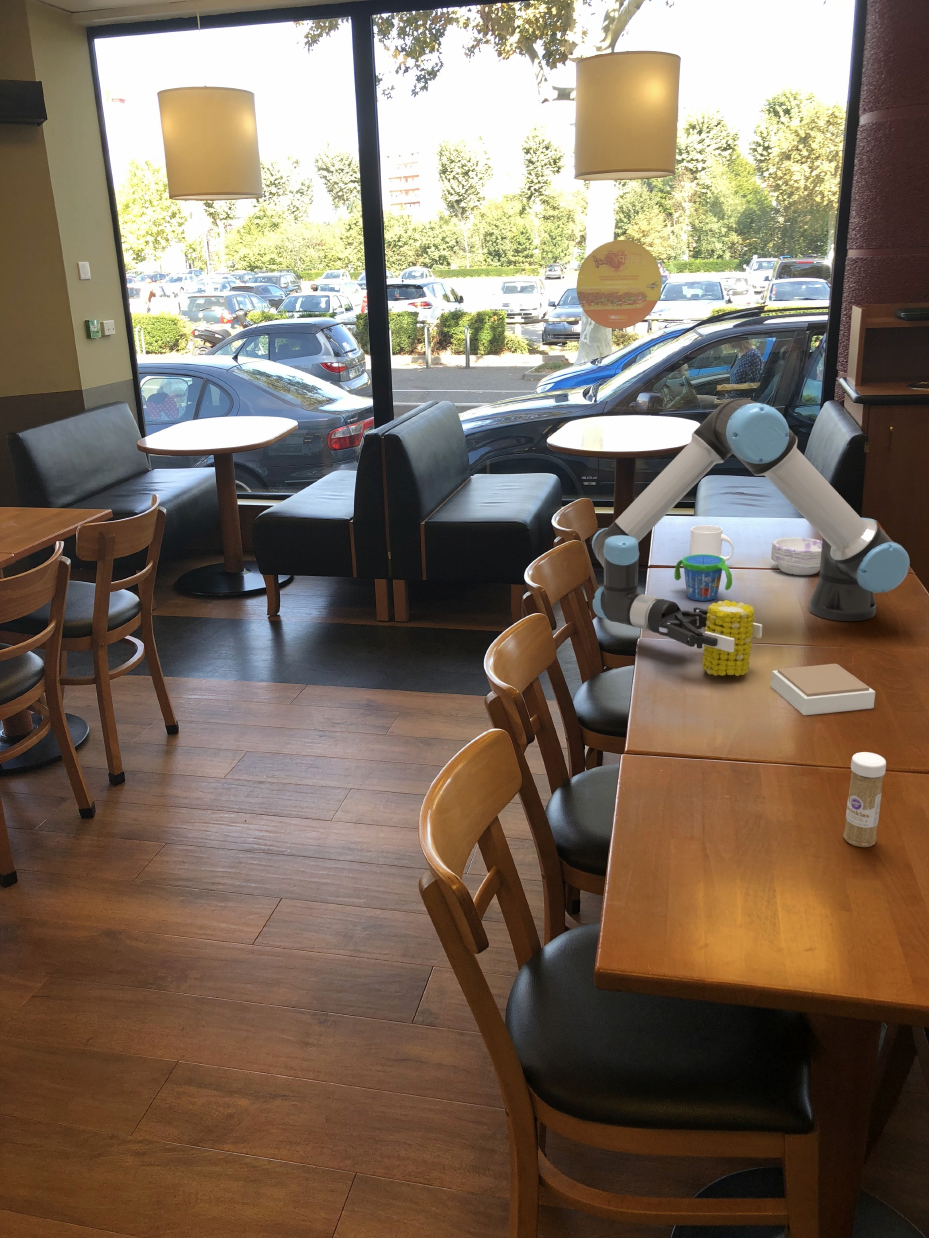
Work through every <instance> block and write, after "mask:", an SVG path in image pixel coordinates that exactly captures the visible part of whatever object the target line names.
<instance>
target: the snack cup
mask: <svg viewBox="0 0 929 1238" xmlns="http://www.w3.org/2000/svg"><path fill="white" fill-rule="evenodd" d="M725 562H726V561H725V560H724V559H723V558H722V557H719V556H715V555H707V554H698V555H690V554H689V555H687V556H685V557H683V558H682V559H680V560H679V561H678V562H677V563H676V565H675V568H674V574H673V577H674V580H675V581H680V579H682V575H681V568H680V567H681V566H682V567H683V573H684V580H685V588H686V594H687V597H688V598H689V599H691V600H694V601H700V602H701V601H702V602H705V601H712V600H716V598H717V597H718V594H719V590H720V583H721V581H722V574H723V573H722V572H723V571H724V573H725V577H726V583H725V587H724V590H725V591H729V590H731V588H732V585H733V576H732V572H731V570H730V567H729V566H728V565H727V564H726V563H725Z"/></svg>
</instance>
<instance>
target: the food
mask: <svg viewBox="0 0 929 1238" xmlns="http://www.w3.org/2000/svg"><path fill="white" fill-rule="evenodd" d="M707 610H708V613H707V621H706V625H707V626H706V627H704V629H705V631H704V632H706V631H707V632H711V633H714V634H718V635H722V636H726V637H730V638H734V639H735V640H734V652H728V651H725V650H721V649H717V648H714V647H710V646H706V645H704V644H703V646H704V649H702V650H703V654H702V656H703V657H702V663H701V665H702V668H703V669H704V671H706V673H707V674H708V675H713V676H715V677H716V676H726V675H728V676H734V675H735V676H738V677H739V676H744V675H746V674H747V673H748V672H749V668H750V660H751V650H752V648H751V647H753V642H752V641H753V637H754V636H752V633H753V629H752V628H753V623H755V622H754V621H755V616H754V615H755V613H756V612H755V610H754V606H751V605H750V604H745V603H744V602H736V601H734V600H733V601H729V600H727V599H726V600H724V601H722V600H719V601H718V602H716V603H715V602H713V603H711V604H710V605H708V606H707Z"/></svg>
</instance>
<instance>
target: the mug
mask: <svg viewBox="0 0 929 1238" xmlns="http://www.w3.org/2000/svg"><path fill="white" fill-rule="evenodd" d="M690 528H691V529H690V545H689V546H690V547H689V556H690V555H698V554H707V555H715V556H719V557H722V558H723V559H724V560H725V562H727V561H729V560H730V559H731V558H732V557H733V555H734V548H735V547H734V543H733V541H732V539H731V538H729V536H727V535H726V534H724V533H723V528H722V527H721V526H717V525H710V524H708V525H707V524H705V525H704V524H701V525H700V524H699V525H694V526H692V527H690ZM723 542H727V543H728V544H729V545H730V547H731V552H730V554H729V555H727V556H723V555H722V545H723V544H722V543H723Z"/></svg>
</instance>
